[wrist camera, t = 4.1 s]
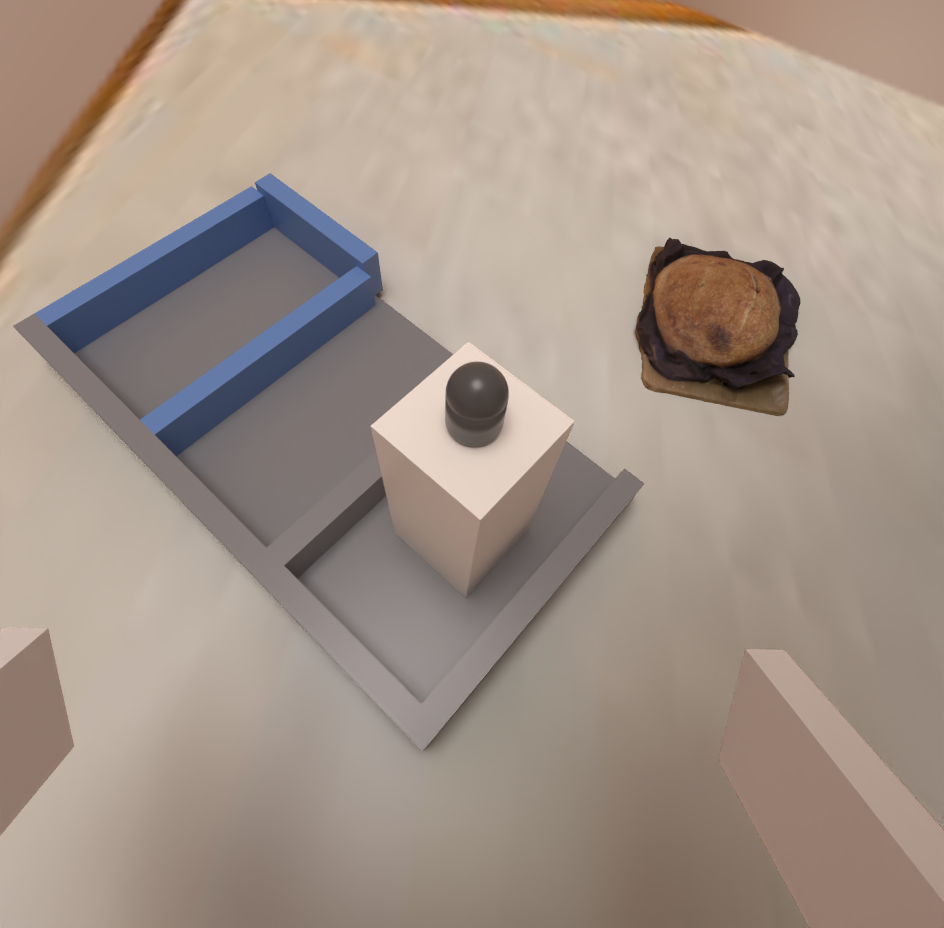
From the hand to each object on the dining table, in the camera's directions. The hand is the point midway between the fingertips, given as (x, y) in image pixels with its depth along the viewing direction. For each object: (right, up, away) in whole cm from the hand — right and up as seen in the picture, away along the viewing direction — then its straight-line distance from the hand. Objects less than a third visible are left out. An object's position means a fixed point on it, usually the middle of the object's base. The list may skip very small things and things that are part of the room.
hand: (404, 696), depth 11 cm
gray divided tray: (-5, +6, +15) cm, 17 cm away
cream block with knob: (+1, +2, +13) cm, 13 cm away
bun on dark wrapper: (+14, +12, +20) cm, 27 cm away
